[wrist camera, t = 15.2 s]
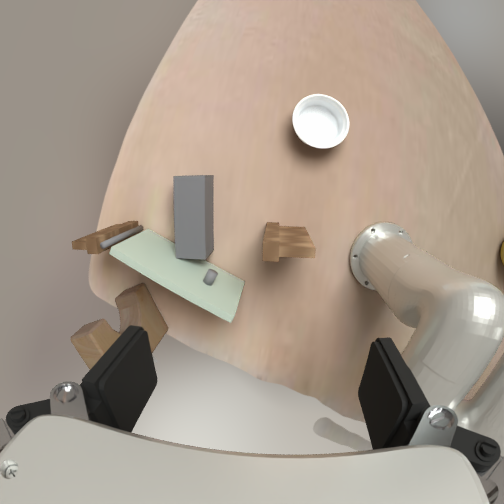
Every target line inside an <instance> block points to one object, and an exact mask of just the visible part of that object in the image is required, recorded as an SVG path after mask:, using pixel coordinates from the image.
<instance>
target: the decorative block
mask: <svg viewBox="0 0 504 504" xmlns="http://www.w3.org/2000/svg"><path fill="white" fill-rule="evenodd" d="M115 302H116V304H117V307H118V309H119V313H120V320H121V324H120V332H119V333H118V332H117V331H115V330H113V329H112V328H111V327H110V325H109V324H108V323H107V321H106V320H105V319H100V320H97V321H94V322H92V323H89V324H86V325H84V326H83V327H82V328H81V329H79V330H78V331H77V332H76V333H75V334H74V335H73V336H71V342H72V343H73V345H74V346H75V348H76V350H77V351H78V352H79V354H80V356H81V357H82V359H83V360H84V362H85V363H86V365H87V366H88V368H89V369H90V370H91V368H92V367H93V366H94V365H95V364H96V363H97V361H98V360H99V359H100V358H101V357H102V356H103V355H104V353H105V352H106V351H107V350H108V349H109V348H110V347H111V345H112V344H113V343H114V342H115V341H116V340H117V339H118V338H119V336H120V335H121V334H122V333H123V332H124V331H125V330H126V329H127V328H128V326H130V325H133V326H140V327H143V328H144V330H145V331H147V333H148V337H149V342H150V347H151V352H152V353H153V351H154V350H155V348H156V346H157V345H158V343H159V342H160V341H161V339H162V337H163V336H164V335H165V333H166V332H167V330H168V327H167V325H166V323H165V321H164V320H163V318H162V316H161V314H160V312H159V310H158V309H157V307H156V305H155V303H154V301H153V299H152V297H151V296H150V294H149V292H148V290H147V288H146V286H145V284H143V283H141V284H139V285H136V286H134V287H131V288H129V289H126V290H125V291H123V292H122V293H121V294H120V295H119V296H117V297H116V298H115Z"/></svg>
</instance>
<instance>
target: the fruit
mask: <svg viewBox="0 0 504 504" xmlns="http://www.w3.org/2000/svg"><path fill="white" fill-rule="evenodd" d="M501 260H502V263H503V265H504V241H503V243H502V247H501Z"/></svg>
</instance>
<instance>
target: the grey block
mask: <svg viewBox="0 0 504 504" xmlns="http://www.w3.org/2000/svg"><path fill="white" fill-rule="evenodd" d="M174 228H175V250H176V258H184V259H204V260H206V259H207V257H208V256H209V255H210V254H211V253H212V251H213V250H214V236H213V175H197V176H174Z"/></svg>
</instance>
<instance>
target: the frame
mask: <svg viewBox="0 0 504 504" xmlns="http://www.w3.org/2000/svg"><path fill="white" fill-rule="evenodd" d="M137 226H138V221H128V222H125V223H123V224H116V225H113V226H110V227H108V228H105V229H102V230H100V231H97V232H95V233H92V234H90V235H87V236H85V237H82V238H80V239H77V240H75V241H72V247H73V249H79V250H87V252H88V254H99V253H101V252H103V251H105V250H107V249H109V248H111V247H112V246H114V245H116V244H118V243H120V242H122V241H124V240H126V239H128V238H130V237H132V236H135V235H137V234H139V232H137V233H135V234H133V235H131V236H129V237H127V238H125V239H123V240H121V241H119V242H117V243H115V244H112V245H110V246H108V247H106V248H104V249H102V248H101V247H100V243H101V242H103V241H106V240H108V239H110V238H112V237H114V236H117V235H119V234H121V233H123V232H126V231H128V230H130V229H133V228H135V227H137ZM315 249H316V248H315V246H314V244H313V242H312V240H311V238H310V236H309V234H308V232H307V230H306V228H305V227H287V226H279V223H272V222H267V225H266V230H265V235H264V239H263V261H277V262H279V257H299V258H315Z"/></svg>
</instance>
